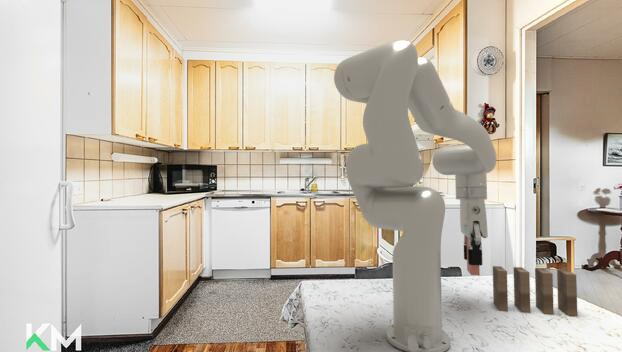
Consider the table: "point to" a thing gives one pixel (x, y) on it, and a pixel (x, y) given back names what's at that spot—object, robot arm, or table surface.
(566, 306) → the tile
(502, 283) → the tile
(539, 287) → the tile
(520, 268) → the tile
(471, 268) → the red tile
